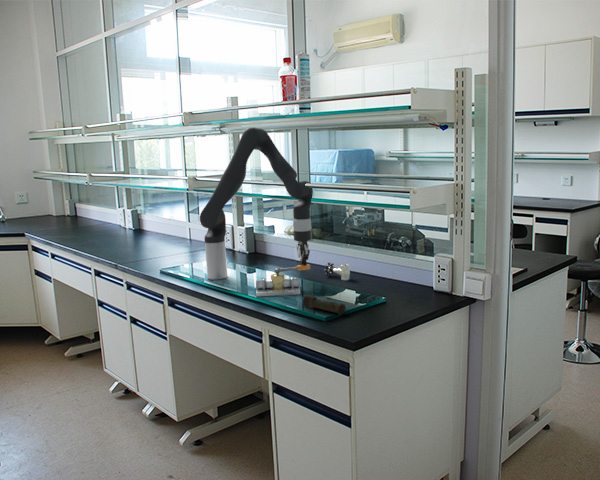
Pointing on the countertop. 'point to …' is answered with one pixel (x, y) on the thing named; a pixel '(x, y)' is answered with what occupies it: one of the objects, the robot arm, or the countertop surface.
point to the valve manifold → (278, 286)
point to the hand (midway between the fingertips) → (303, 268)
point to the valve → (338, 271)
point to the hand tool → (323, 304)
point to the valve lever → (293, 268)
